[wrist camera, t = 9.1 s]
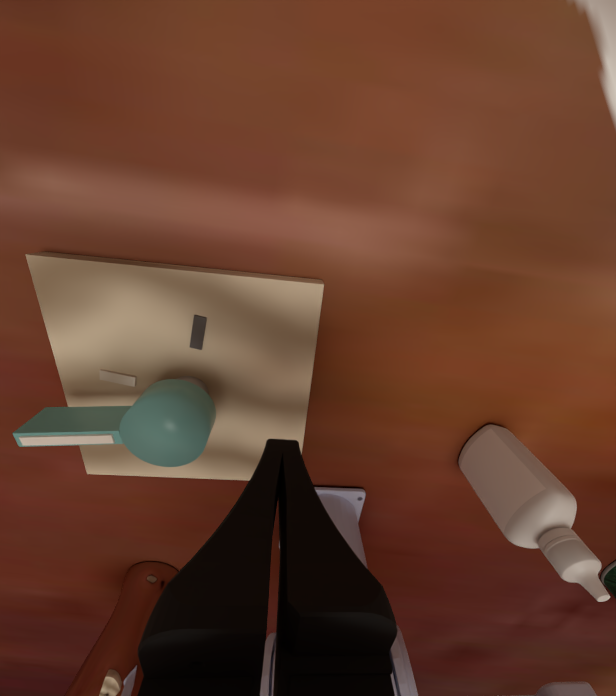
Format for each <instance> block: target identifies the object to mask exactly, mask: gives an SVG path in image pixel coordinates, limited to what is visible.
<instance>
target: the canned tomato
mask: <svg viewBox="0 0 616 696" xmlns="http://www.w3.org/2000/svg"><path fill="white" fill-rule="evenodd" d="M601 581H602V583H603V584H604V585H605V586H606V587H607V588H608V589H609V590H610V592H611V593H612V594H613V595H614V597H615V598H616V561H614V562H613V563H611V564H610V565H609V566H608V567H606V568H605V570H604V571H603V572H602V574H601Z"/></svg>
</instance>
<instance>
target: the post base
mask: <svg viewBox="0 0 616 696" xmlns="http://www.w3.org/2000/svg"><path fill="white" fill-rule="evenodd" d="M25 255H26V258H27V262H28V265H29V269H30V273H31V276H32V280H33V283H34V287H35V290H36V294H37V297H38V301H39V304H40V308H41V312H42V315H43V319H44V322H45V326H46V329H47V333H48V336H49V340H50V343H51V347H52V351H53V354H54V358H55V361H56V365H57V368H58V372H59V375H60V379H61V383H62V386H63V390H64V393H65V397H66V400H67V404H68V407H90V406H132V405H133V404H134V403H135V402H136V400H137V399H138V398H139V397H140V396H141V395H142V393H143V392H144V391H145V390H146V389H147V388H148V387H149V386H150V385H152V384H153V383H156V382H158V381H161V380H166V379H179V380H184V381H188V382H191V383H193V384H195V385H197V386H199V387H200V388H202V389H203V390H204V391H205V392H206V393H207V394H208V395H209V396H210V397H211V399H212V400H213V402H214V405H215V408H216V419H215V423H214V425H213V428H212V430H211V433H210V436H209V438H208V441H207V444H206V446H205V449H204V451H203V452H202V454H201V455H200V456H199V457H198V458H197V459H196V460H194V461H193V462H191V463H189V464H186V465H183V466H178V467H162V466H156V465H153V464H150V463H147V462H145V461H143V460H141V459H139V458H138V457H136V456H135V455H133V454H132V453H131V452H130V451H129V450H128V449H127V448H126V446H125V445H124V443H123V444H102V445H79V446H80V450H81V453H82V457H83V461H84V464H85V468H86V471H87V474H102V475H127V476H152V477H176V478H201V479H225V480H250V479H251V477H252V475H253V473H254V471H255V469H256V467H257V465H258V463H259V461H260V459H261V456H262V454H263V451H264V448H265V445H266V441H267V440H268V439H286V440H297V441H298V442H299V447H300V451H301V455H302V447H303V440H304V432H305V425H306V417H307V410H308V402H309V394H310V387H311V379H312V372H313V364H314V357H315V349H316V342H317V334H318V327H319V319H320V311H321V304H322V296H323V289H324V283H323V281H322V280H319V279H309V278H300V277H290V276H280V275H270V274H260V273H251V272H241V271H231V270H221V269H211V268H201V267H192V266H182V265H172V264H162V263H152V262H143V261H133V260H123V259H113V258H103V257H93V256H84V255H74V254H64V253H54V252H39V253H32V254H25Z"/></svg>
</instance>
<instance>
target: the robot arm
mask: <svg viewBox="0 0 616 696" xmlns="http://www.w3.org/2000/svg"><path fill="white" fill-rule="evenodd" d="M365 496H366V493H365V490H363V489H352V488H327V487H314V486H313V484H312V481H311V479H310V477H309V474H308V472H307V469H306V467H305V464H304V461H303V458H302V455H301V451H300V447H299V442H298V441H297V440H286V439H268V440H267V441H266V445H265V448H264V451H263V454H262V456H261V459H260V461H259V463H258V465H257V467H256V469H255V471H254V473H253V475H252V477H251V479H250V481H249V482H248V484H247V486H246V488H245V489H244V491H243V493H242V494H241V496H240V498H239V499H238V501H237V502H236V504H235V505H234V507H233V508H232V509H231V511H230V512H229V514H228V515H227V516H226V518H225V519H224V520H223V522H222V523H221V524H220V526H219V527H218V528H217V530H216V531H215V532H214V533H213V535H212V536H211V537H210V538H209V539H208V541H207V542H206V543H205V544H204V545H203V546H202V547H201V549H200V550H199V551H198V552H197V553H196V554H195V555H194V557H193V558H192V559H191V560H190V561H189V562H188V563H187V564H186V565H185V566H184V567H183V568H182V569H181V570H180V571H179V572H178V573H177V574H176V575H175V576H174V577H173V578H172V579H171V580H170V581H169V582H168V584H167V585H166V587H165V589H164V590H163V592H162V594H161V596H160V597H159V599H158V601H157V603H156V605H155V607H154V609H153V611H152V613H151V615H150V617H149V619H148V622H147V624H146V627H145V630H144V632H143V635H142V638H141V641H140V644H139V646H138V658H139V662H140V665H141V669H142V672H143V676H144V677H143V680H142V683H141V686H140V689H139V692H138V695H137V696H418V694H417V689H416V685H415V681H414V677H413V673H412V669H411V665H410V661H409V657H408V654H407V650H406V646H405V643H404V640H403V637H402V634H401V631H400V629H399V627H398V626H397V625H396V621H395V617H394V614H393V612H392V609H391V606H390V603H389V600H388V598H387V596H386V593H385V591H384V589H383V586H382V585H381V584H380V583H379V582H378V581H377V579H376V578H375V577H374V576H373V575H372V574H371V573H370V571H369V570H368V568H367V564H366V559H365V554H364V549H363V544H362V540H361V535H360V530H359V525H358V521H359V518H360V514H361V511H362V507H363V503H364V500H365ZM277 501H278V503H279V536H280V541H279V548H280V570H279V591H278V611H277V630H276V633H271V634H269V636H268V638H267V640H266V630H267V614H268V598H269V580H270V563H271V546H272V535H273V528H274V521H275V515H276V508H277ZM265 641H266V642H265ZM518 696H597V695H596V694H595V692H594V690H593V689H592V687H591V686H590V684H588V683H587V682H554V683H549V684H546V685H544V686H542V687H541V688H540V689H539V690H538V691H537V694H536V695H518Z"/></svg>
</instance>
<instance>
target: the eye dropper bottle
mask: <svg viewBox="0 0 616 696" xmlns="http://www.w3.org/2000/svg"><path fill="white" fill-rule="evenodd" d="M458 464H459V467H460V469H461V471H462V472H463V474H464V475H465V477H466V478H467V480H468V482H469V483H470V485H471V486H472V488H473V489H474V491H475V492H476V494H477V495H478V497H479V498H480V500H481V501H482V503H483V504H484V506H485V507H486V509H487V510H488V512H489V513H490V515H491V516H492V518H493V519H494V521H495V522H496V524H497V525H498V527H499V528H500V530H501V531H502V533H503V534H504V535H505V537H506V538H507V539H508V540H509V541H510V542H512V543H513V544H515V545H517V546H521V547H525V548H540V549H541V551H542V552H543V554H544V555H545V556H546V558H547V559H548V560H549V562H550V563H551V564H552V566H553V567H554V568H555V570H556V571H557V573H558V574H559V575H560V577H561V578H562V579H563V580H565V581H568V582H577V583H579V584H581V585H582V586H583V587H584V588H585V589H586V590H587V591H588V592H589V593H590V594H591V595H592V596H593V597H594V598H595V599H596V600H597V601H598V602H603V601H606V600H608V599H609V598H610V596H609V594H608V592H607V591H606V589H605V588H604V586H603V584H602V583H601V581H600V580H599V578H598V572H599V571H600V570H601V562H600V561H599V560H598V558H597V557H596V556H595V555H594V554H593V553H592V552H591V550H590V549H589V548H588V547H587V546H586V545H585V544H584V543H583V541H582V540H581V539H580V538H579V537H578V536H577V535H576V533H575V532H574V531H573V530H571V527H572V525H573V522H574V519H575V515H576V509H577V506H576V500H575V498H574V496H573V495H572V494H571V493H570V492H569V490H568V489H567V488H566V487H565V486H564V485H563V484H562V483H561V482H560V481H559V480H558V479H557V478H556V477H555V476H554V475H553V474H552V473H551V472H550V471H549V470H548V469H547V468H546V467H545V466H544V465H543V464H542V463H541V462H540V461H539V460H538V459H537V458H536V457H535V456H534V455H533V454H532V453H531V452H530V451H529V450H528V449H527V448H526V447H525V446H524V445H523V444H522V443H521V442H520V441H519V440H518V439H517V438H516V437H515V436H514V435H513V434H512V433H511V432H510V431H509V430H508V429H506V428H503V427H500V426H497V425H491V424H489V425H486V426H484V427H483V428H481V429H480V430H479V431H477V432H476V433H475V434H474V435H473V436H472V437H471V438H470V439H469V440H468V441H467V443H466V444H465V446H464V447H463V449H462V451H461V454H460V457H459V461H458Z"/></svg>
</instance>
